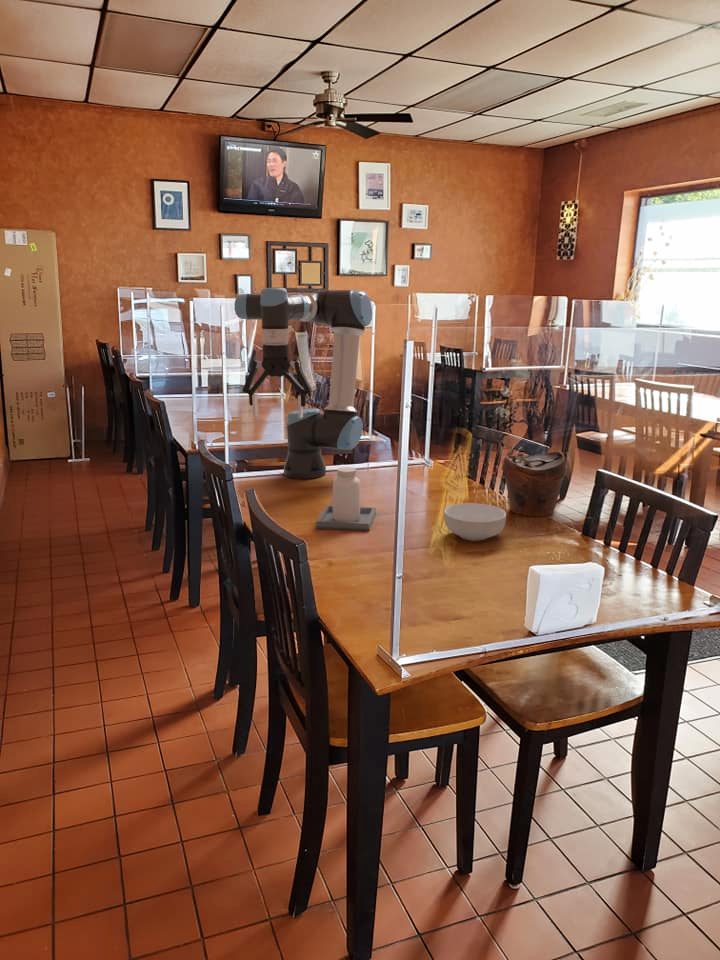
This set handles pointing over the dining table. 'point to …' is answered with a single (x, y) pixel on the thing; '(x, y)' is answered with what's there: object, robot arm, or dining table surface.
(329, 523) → the tray
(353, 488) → the pill bottle
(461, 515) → the cereal bowl
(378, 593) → the dining table surface
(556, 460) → the brown plant pot
